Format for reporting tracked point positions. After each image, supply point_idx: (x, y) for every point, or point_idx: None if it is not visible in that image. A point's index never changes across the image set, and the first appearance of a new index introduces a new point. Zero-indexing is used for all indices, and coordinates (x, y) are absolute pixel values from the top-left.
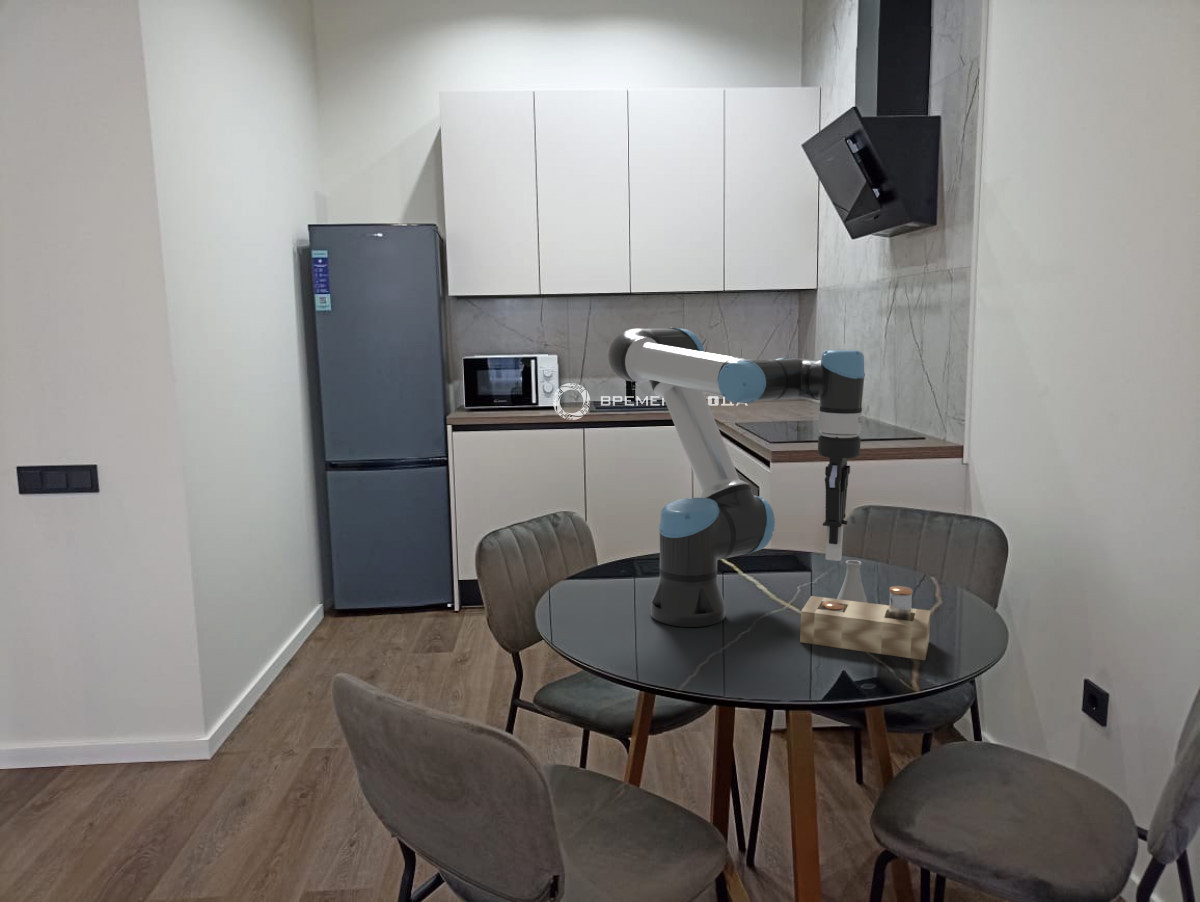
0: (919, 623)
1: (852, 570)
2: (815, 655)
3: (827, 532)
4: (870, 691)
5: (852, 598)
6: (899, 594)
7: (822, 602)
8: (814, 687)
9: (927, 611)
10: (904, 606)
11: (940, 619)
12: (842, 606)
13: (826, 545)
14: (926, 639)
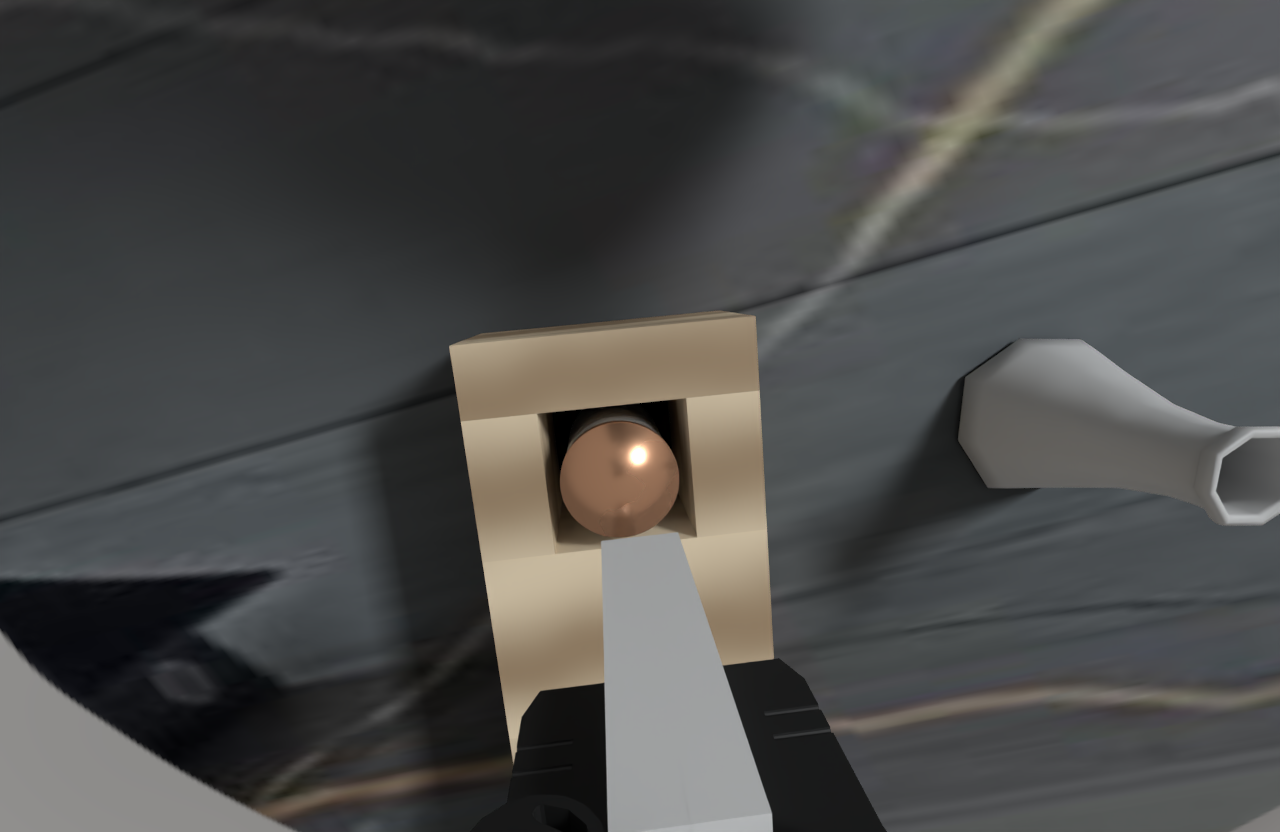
0: None
1: (1172, 469)
2: (367, 436)
3: (610, 742)
4: (140, 701)
5: (1018, 443)
6: None
7: (685, 401)
8: (36, 526)
9: None
10: None
11: (1017, 743)
12: (612, 533)
13: (604, 618)
14: None
